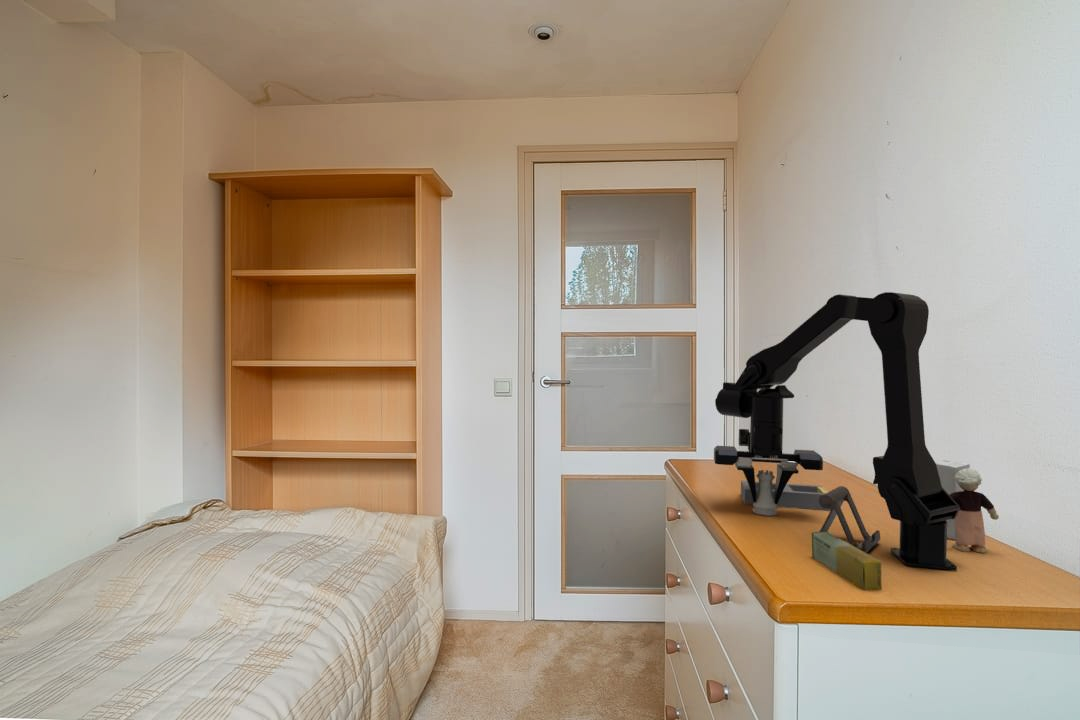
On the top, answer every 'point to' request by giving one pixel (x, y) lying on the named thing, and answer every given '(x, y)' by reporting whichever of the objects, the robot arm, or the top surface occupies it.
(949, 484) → the skincare box
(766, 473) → the rook chess piece
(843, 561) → the medication box
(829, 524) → the portable electronic device stand
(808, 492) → the rail
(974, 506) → the grandmother figurine
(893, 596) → the top surface
